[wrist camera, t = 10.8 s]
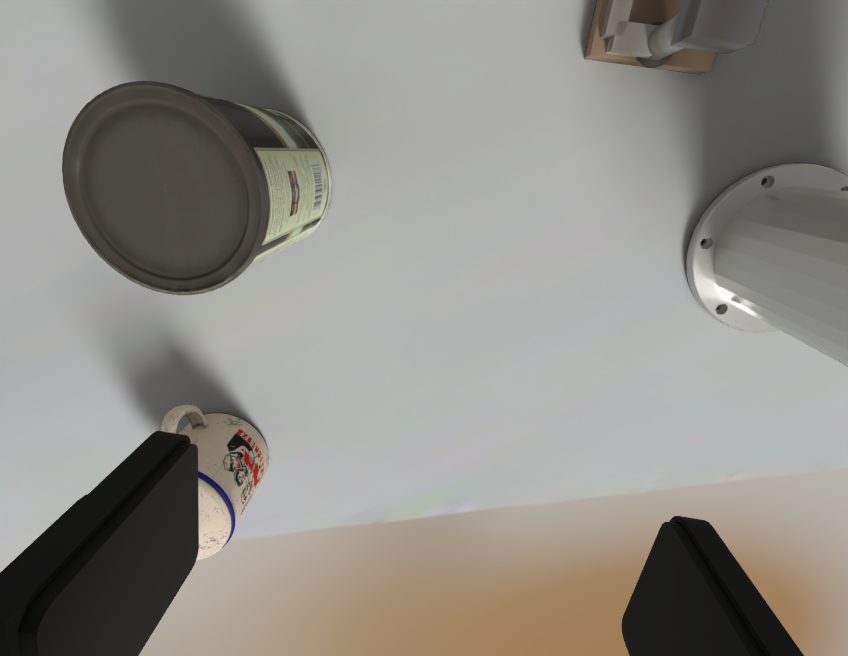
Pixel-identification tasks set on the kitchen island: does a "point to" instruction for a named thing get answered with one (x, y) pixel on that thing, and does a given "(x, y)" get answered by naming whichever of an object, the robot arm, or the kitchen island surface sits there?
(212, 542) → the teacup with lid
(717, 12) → the brown wooden stand
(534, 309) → the kitchen island surface
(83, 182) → the coffee can
